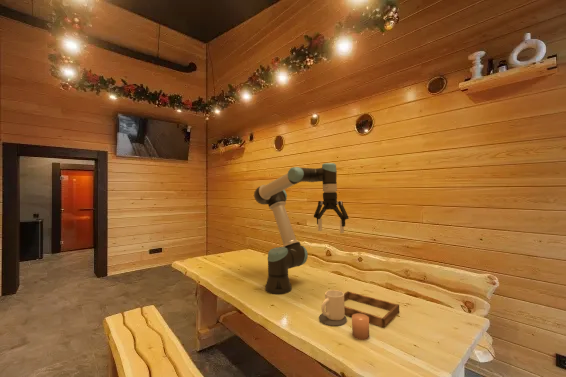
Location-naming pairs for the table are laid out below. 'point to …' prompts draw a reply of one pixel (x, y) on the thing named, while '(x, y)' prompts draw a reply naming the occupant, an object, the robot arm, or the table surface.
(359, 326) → the orange rounded cylinder
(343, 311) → the mug
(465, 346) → the table surface
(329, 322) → the dark brown round mat
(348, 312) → the frame
